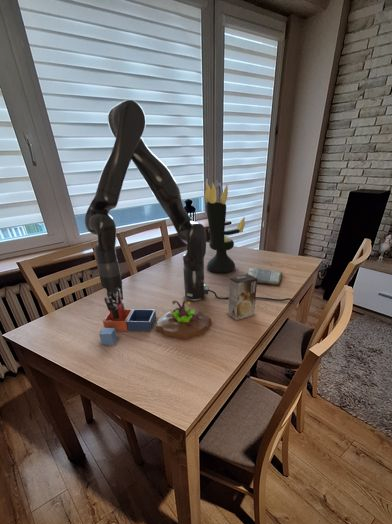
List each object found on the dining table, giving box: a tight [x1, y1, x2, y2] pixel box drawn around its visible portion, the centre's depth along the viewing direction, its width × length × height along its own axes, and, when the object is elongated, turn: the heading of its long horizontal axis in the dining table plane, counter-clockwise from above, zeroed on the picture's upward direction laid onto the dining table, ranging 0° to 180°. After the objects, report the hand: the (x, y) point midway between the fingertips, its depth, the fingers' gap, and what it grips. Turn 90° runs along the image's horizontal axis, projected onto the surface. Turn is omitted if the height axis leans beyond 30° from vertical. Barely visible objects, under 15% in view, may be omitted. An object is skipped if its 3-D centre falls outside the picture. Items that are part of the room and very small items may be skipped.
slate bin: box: [127, 308, 157, 332], centre depth 110 cm, size 9×11×4 cm
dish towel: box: [247, 267, 283, 286], centre depth 149 cm, size 19×18×3 cm
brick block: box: [109, 302, 126, 318], centre depth 108 cm, size 4×4×4 cm
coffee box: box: [227, 273, 258, 321], centre depth 111 cm, size 9×6×16 cm
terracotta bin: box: [102, 308, 134, 332], centre depth 110 cm, size 9×11×4 cm
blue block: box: [98, 327, 118, 346], centre depth 100 cm, size 4×4×4 cm
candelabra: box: [204, 182, 246, 274], centre depth 149 cm, size 19×22×45 cm
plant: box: [155, 299, 212, 340], centre depth 106 cm, size 20×20×11 cm
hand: (118, 314), depth 109 cm, fingers closed on brick block, 4 cm apart
